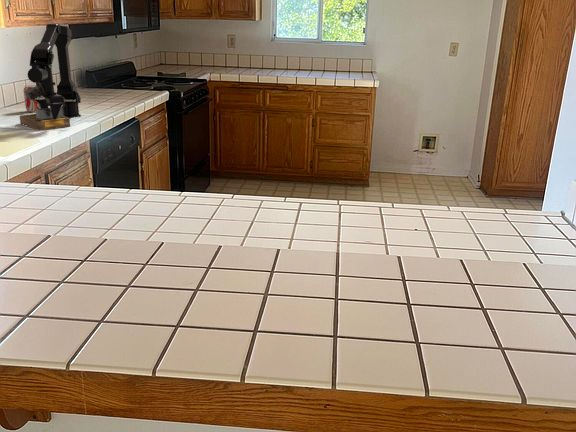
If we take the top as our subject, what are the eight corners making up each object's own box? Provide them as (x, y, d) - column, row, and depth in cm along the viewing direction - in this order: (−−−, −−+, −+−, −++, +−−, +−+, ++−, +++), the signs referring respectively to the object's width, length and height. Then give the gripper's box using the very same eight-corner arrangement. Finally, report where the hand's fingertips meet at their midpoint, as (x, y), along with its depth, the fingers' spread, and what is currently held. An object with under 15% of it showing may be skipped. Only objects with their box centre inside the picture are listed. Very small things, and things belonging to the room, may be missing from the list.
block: (60, 123, 242) (58, 106, 239) (63, 124, 240) (62, 107, 237) (37, 125, 235) (35, 109, 232) (40, 127, 233) (38, 110, 230)
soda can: (36, 112, 267) (33, 87, 263) (23, 112, 268) (19, 86, 264) (45, 110, 273) (42, 85, 269) (32, 109, 275) (28, 84, 270)
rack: (51, 120, 252) (50, 111, 250) (70, 126, 240) (69, 117, 238) (20, 123, 243) (19, 115, 241) (38, 130, 231) (37, 121, 229)
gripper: (16, 78, 231) (21, 116, 237) (35, 83, 219) (40, 123, 225) (43, 77, 239) (47, 113, 244) (63, 81, 227) (67, 120, 232)
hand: (50, 117), depth 236 cm, fingers open, 9 cm apart
